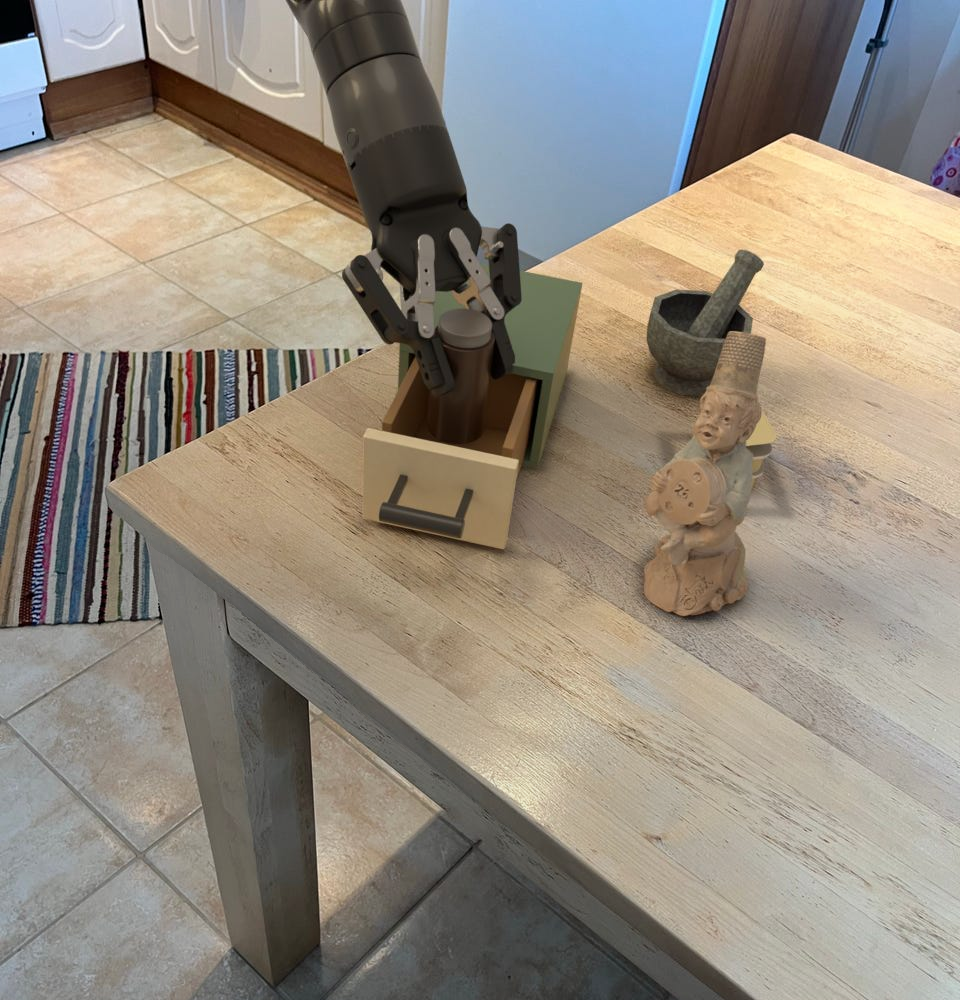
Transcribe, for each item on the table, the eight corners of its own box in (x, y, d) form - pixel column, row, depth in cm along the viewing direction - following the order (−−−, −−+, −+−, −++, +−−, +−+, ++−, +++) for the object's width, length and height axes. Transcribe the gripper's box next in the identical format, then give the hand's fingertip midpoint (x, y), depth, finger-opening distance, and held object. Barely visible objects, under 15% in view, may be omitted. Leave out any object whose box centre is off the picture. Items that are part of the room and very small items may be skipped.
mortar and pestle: (685, 418, 92) (720, 299, 83) (615, 370, 96) (641, 253, 87) (761, 383, 97) (801, 268, 88) (691, 340, 102) (723, 226, 93)
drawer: (490, 592, 72) (502, 511, 67) (342, 559, 73) (341, 476, 68) (537, 443, 85) (550, 364, 80) (411, 416, 86) (414, 336, 81)
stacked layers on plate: (662, 438, 89) (677, 386, 85) (758, 444, 90) (777, 393, 86) (680, 509, 82) (697, 456, 78) (783, 515, 83) (805, 463, 79)
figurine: (676, 532, 80) (747, 307, 66) (762, 587, 77) (857, 362, 62) (608, 581, 76) (668, 350, 61) (697, 642, 72) (783, 412, 57)
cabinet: (537, 470, 84) (553, 373, 77) (395, 440, 85) (399, 341, 78) (565, 376, 95) (582, 282, 88) (439, 350, 96) (446, 255, 89)
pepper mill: (420, 437, 75) (427, 330, 68) (434, 406, 78) (443, 300, 71) (476, 449, 74) (489, 343, 68) (488, 417, 77) (502, 313, 71)
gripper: (458, 156, 75) (528, 374, 78) (288, 185, 69) (370, 421, 72) (505, 108, 68) (580, 348, 71) (321, 135, 62) (410, 397, 65)
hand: (474, 383), depth 71 cm, fingers closed on pepper mill, 4 cm apart
